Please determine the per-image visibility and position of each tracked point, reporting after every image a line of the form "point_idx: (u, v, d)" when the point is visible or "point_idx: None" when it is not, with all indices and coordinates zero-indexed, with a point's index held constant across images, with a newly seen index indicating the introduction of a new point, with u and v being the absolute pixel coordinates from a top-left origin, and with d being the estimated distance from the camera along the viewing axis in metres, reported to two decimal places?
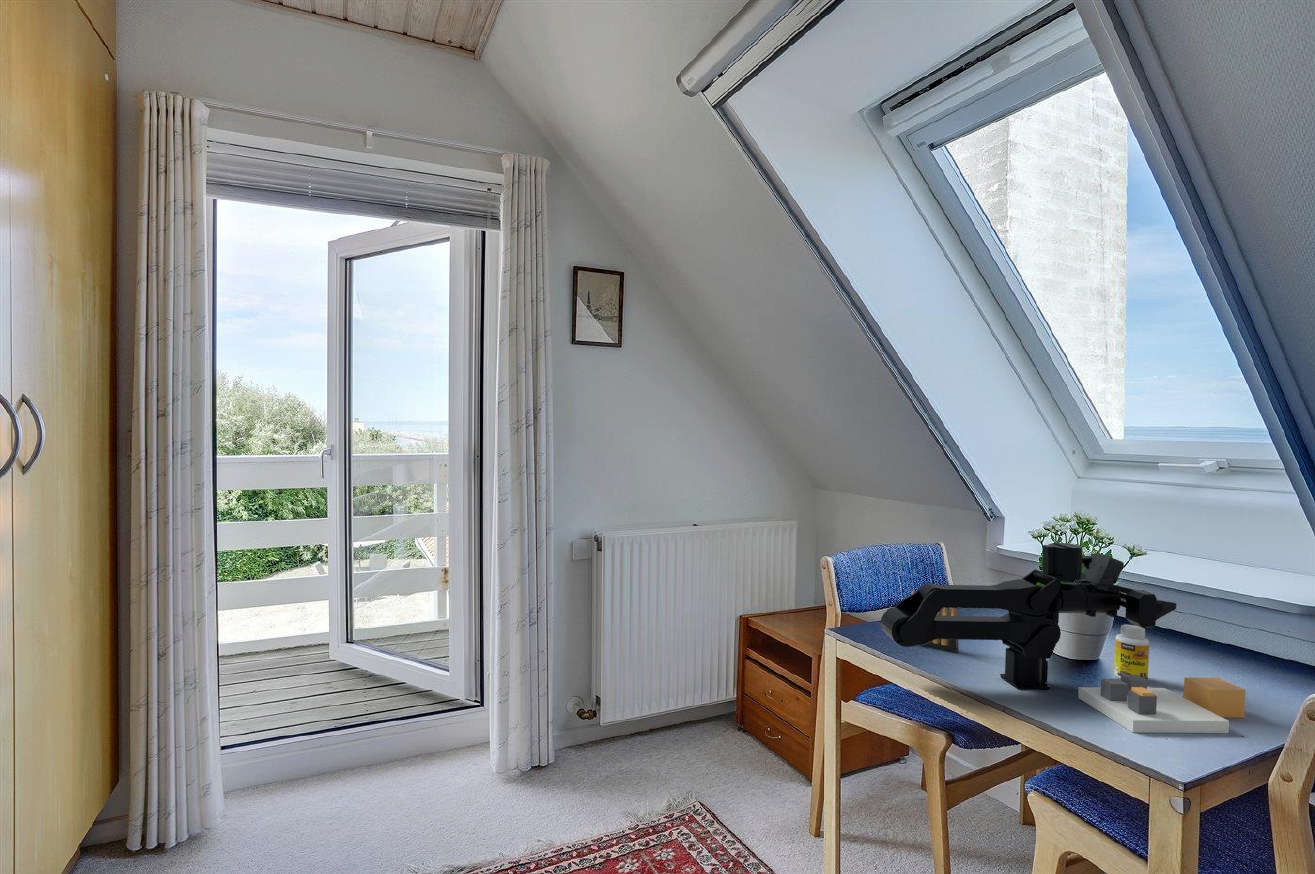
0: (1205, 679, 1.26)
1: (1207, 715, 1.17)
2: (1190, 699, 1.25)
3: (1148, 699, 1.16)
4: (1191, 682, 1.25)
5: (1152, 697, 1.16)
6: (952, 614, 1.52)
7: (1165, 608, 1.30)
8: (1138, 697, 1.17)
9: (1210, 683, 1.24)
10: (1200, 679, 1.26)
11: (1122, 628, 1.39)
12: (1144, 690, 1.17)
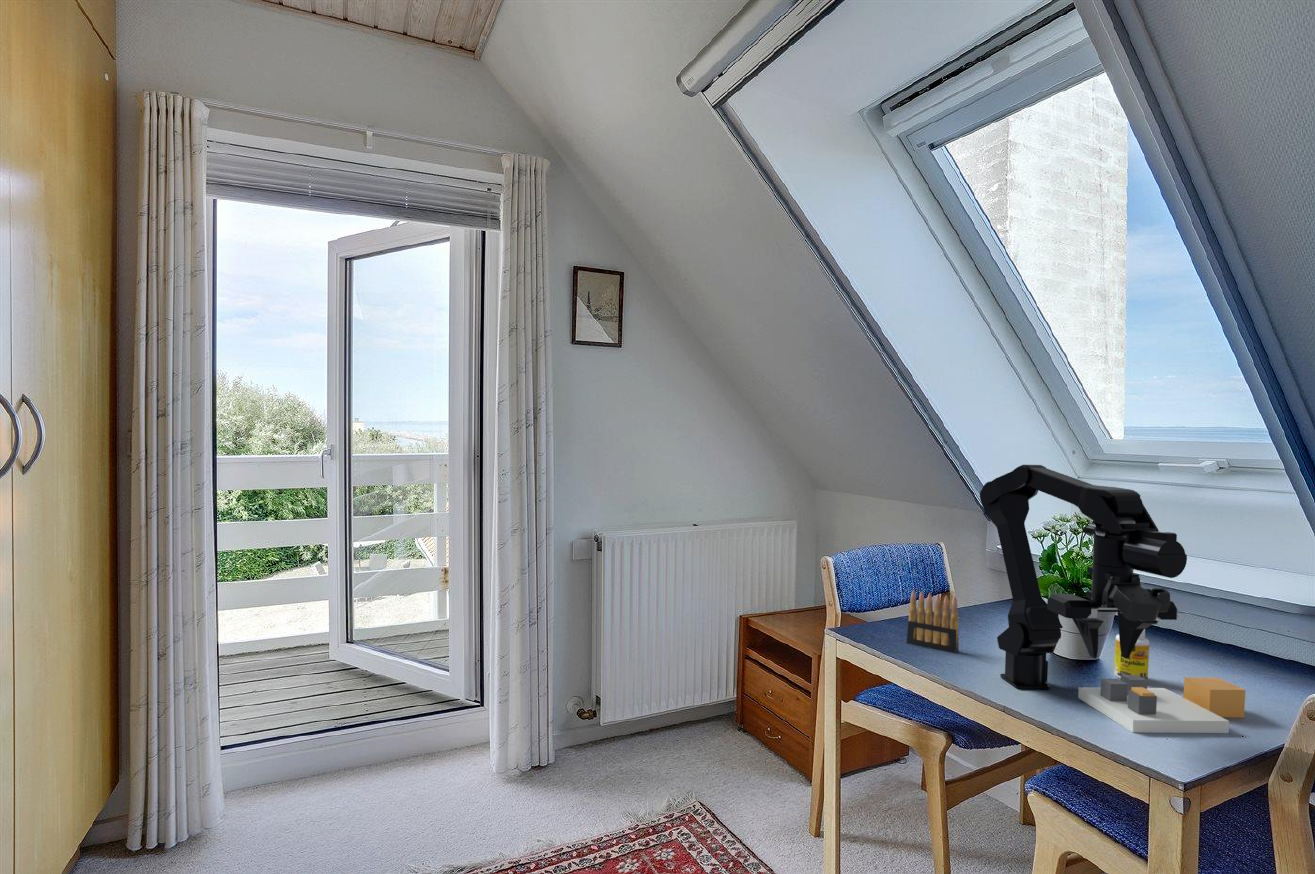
0: (1205, 679, 1.26)
1: (1207, 715, 1.17)
2: (1190, 699, 1.25)
3: (1148, 699, 1.16)
4: (1191, 682, 1.25)
5: (1152, 697, 1.16)
6: (952, 614, 1.52)
7: (1087, 641, 1.17)
8: (1138, 697, 1.17)
9: (1210, 683, 1.24)
10: (1200, 679, 1.26)
11: None
12: (1144, 690, 1.17)
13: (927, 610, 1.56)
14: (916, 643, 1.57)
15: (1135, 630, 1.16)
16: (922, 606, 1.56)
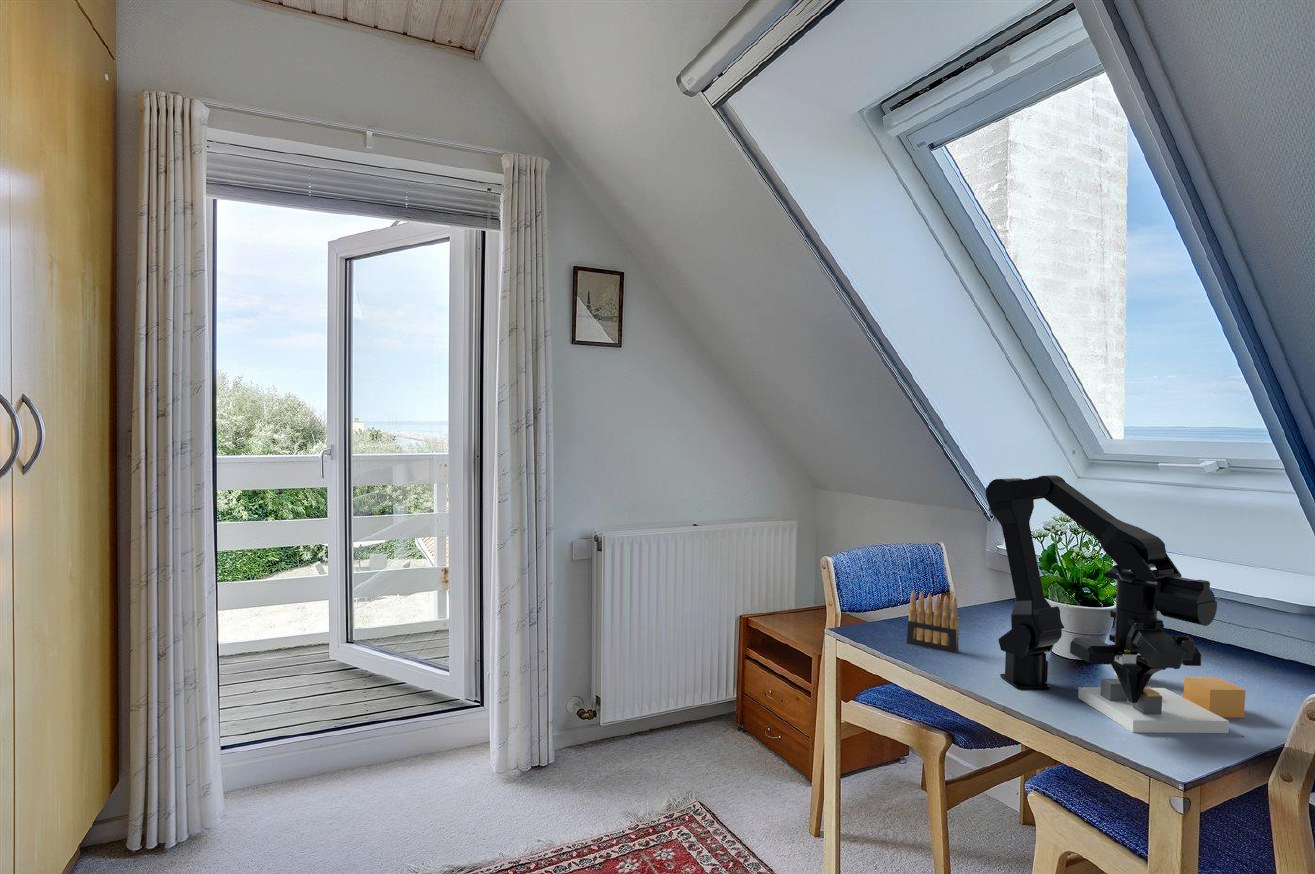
0: (1205, 679, 1.26)
1: (1207, 715, 1.17)
2: (1190, 699, 1.25)
3: (1153, 699, 1.16)
4: (1191, 682, 1.25)
5: (1158, 697, 1.16)
6: (952, 614, 1.52)
7: (1125, 685, 1.18)
8: (1143, 697, 1.17)
9: (1210, 683, 1.24)
10: (1200, 679, 1.26)
11: None
12: (1149, 690, 1.18)
13: (927, 610, 1.56)
14: (916, 643, 1.57)
15: (1144, 675, 1.16)
16: (922, 606, 1.56)
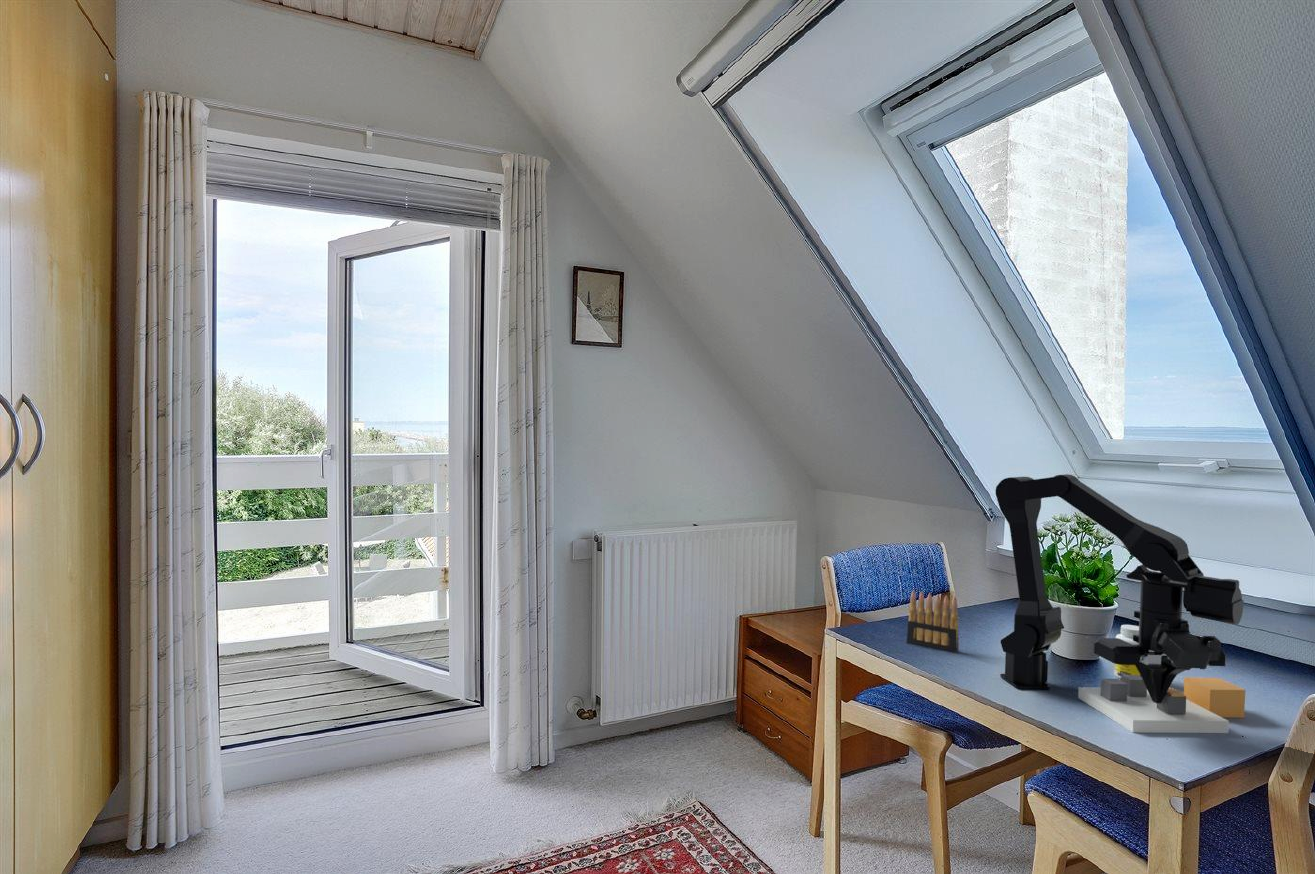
0: (1205, 679, 1.26)
1: (1207, 715, 1.17)
2: (1190, 699, 1.25)
3: (1178, 699, 1.17)
4: (1191, 682, 1.25)
5: (1182, 697, 1.17)
6: (952, 614, 1.52)
7: (1149, 686, 1.18)
8: (1167, 697, 1.17)
9: (1210, 683, 1.24)
10: (1200, 679, 1.26)
11: (1122, 628, 1.39)
12: (1173, 690, 1.18)
13: (927, 610, 1.56)
14: (916, 643, 1.57)
15: (1168, 675, 1.16)
16: (922, 606, 1.56)
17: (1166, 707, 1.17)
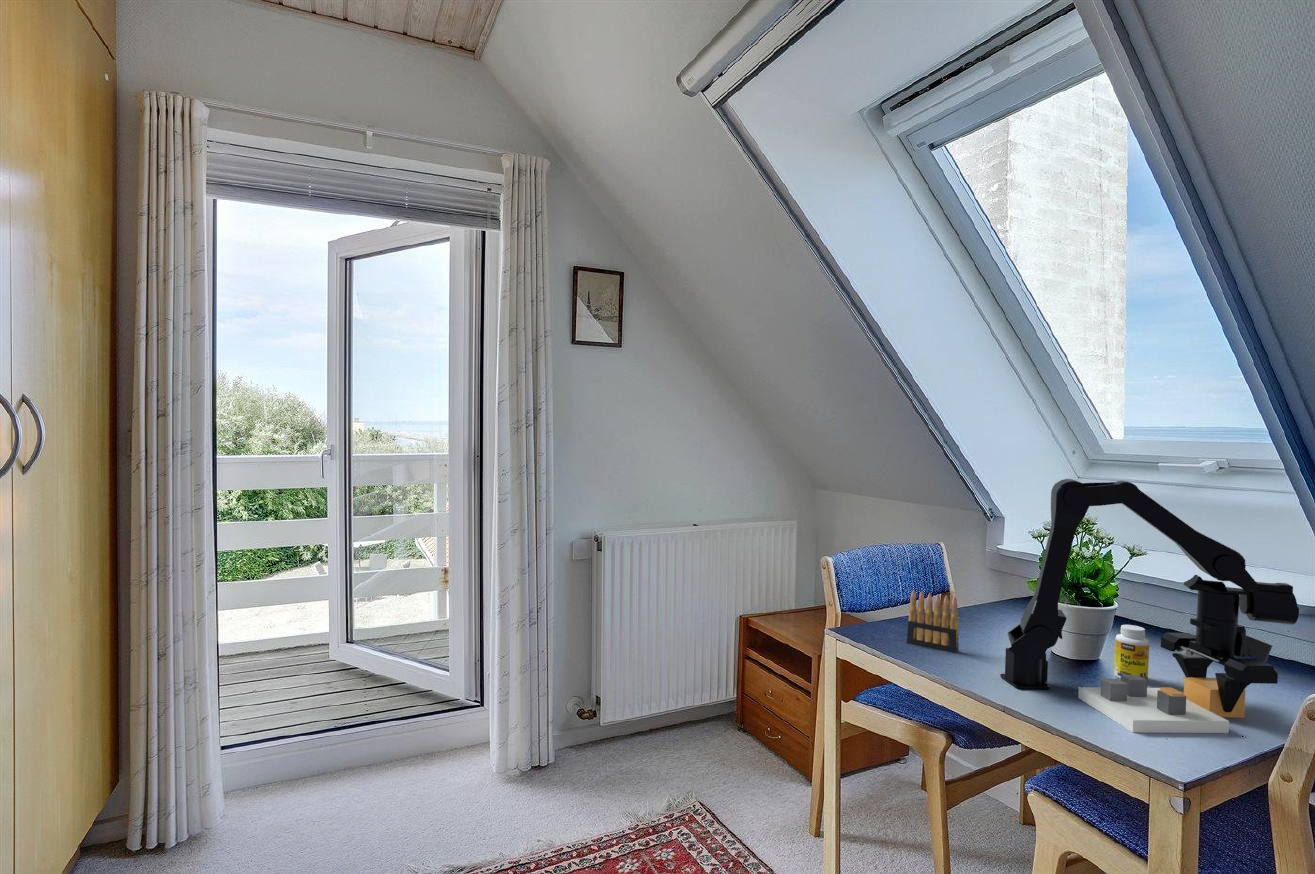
0: (1205, 679, 1.26)
1: (1207, 715, 1.17)
2: (1190, 699, 1.25)
3: (1178, 699, 1.17)
4: (1191, 682, 1.25)
5: (1182, 697, 1.17)
6: (952, 614, 1.52)
7: (1231, 698, 1.20)
8: (1167, 697, 1.17)
9: (1210, 683, 1.24)
10: (1200, 679, 1.26)
11: (1122, 628, 1.39)
12: (1173, 690, 1.18)
13: (927, 610, 1.56)
14: (916, 643, 1.57)
15: (1206, 668, 1.27)
16: (922, 606, 1.56)
17: (1166, 707, 1.17)
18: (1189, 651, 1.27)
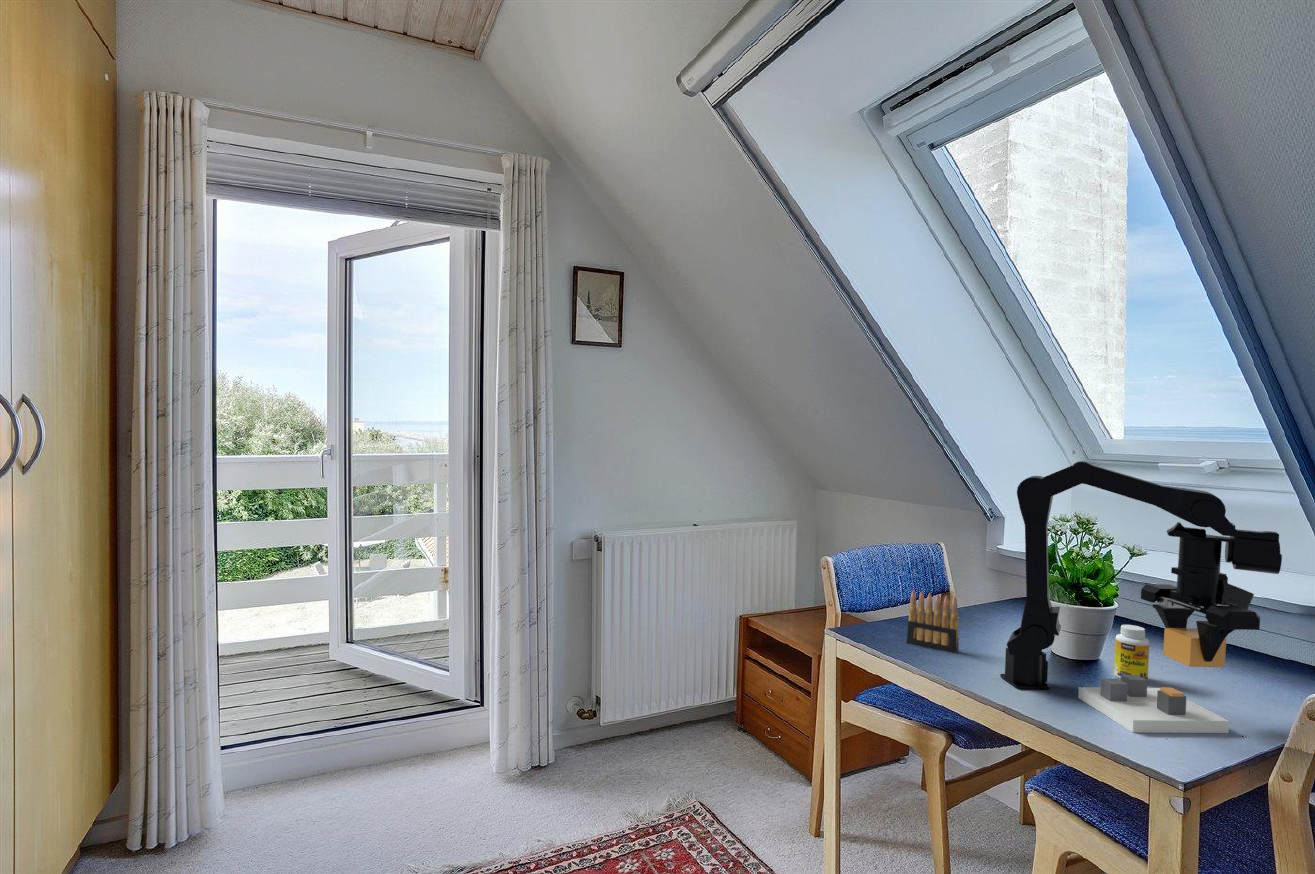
0: (1185, 629, 1.23)
1: (1207, 715, 1.17)
2: (1170, 650, 1.22)
3: (1178, 699, 1.17)
4: (1171, 632, 1.22)
5: (1182, 697, 1.17)
6: (952, 614, 1.52)
7: (1212, 647, 1.17)
8: (1167, 697, 1.17)
9: (1191, 633, 1.21)
10: (1180, 629, 1.23)
11: (1122, 628, 1.39)
12: (1173, 690, 1.18)
13: (927, 610, 1.56)
14: (916, 643, 1.57)
15: (1186, 619, 1.24)
16: (922, 606, 1.56)
17: (1166, 707, 1.17)
18: (1170, 601, 1.24)
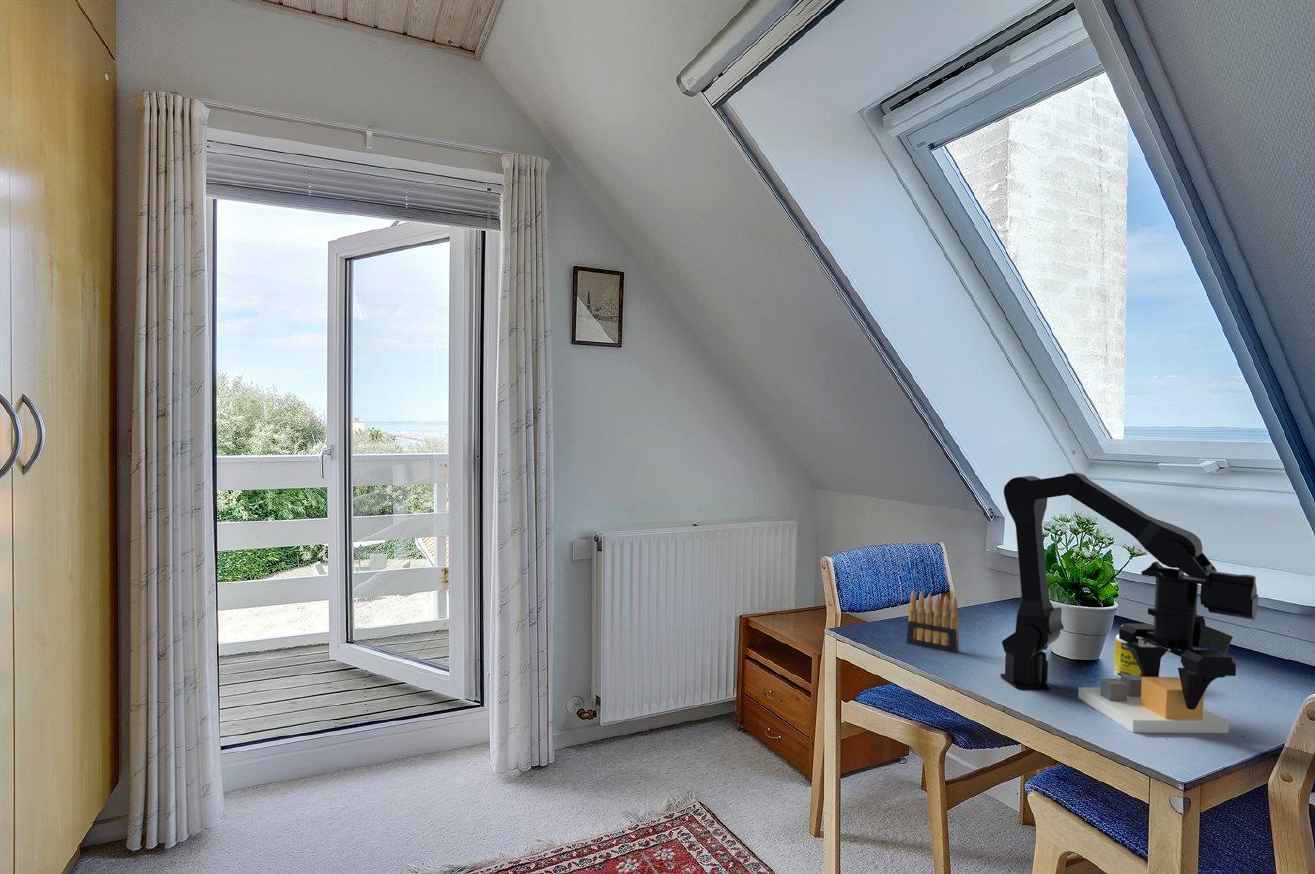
0: (1163, 679, 1.20)
1: (1207, 715, 1.17)
2: (1147, 700, 1.19)
3: None
4: (1148, 682, 1.19)
5: None
6: (952, 614, 1.52)
7: (1195, 695, 1.13)
8: None
9: (1168, 683, 1.18)
10: (1158, 679, 1.20)
11: None
12: None
13: (927, 610, 1.56)
14: (916, 643, 1.57)
15: (1159, 658, 1.23)
16: (922, 606, 1.56)
17: None
18: (1142, 640, 1.23)
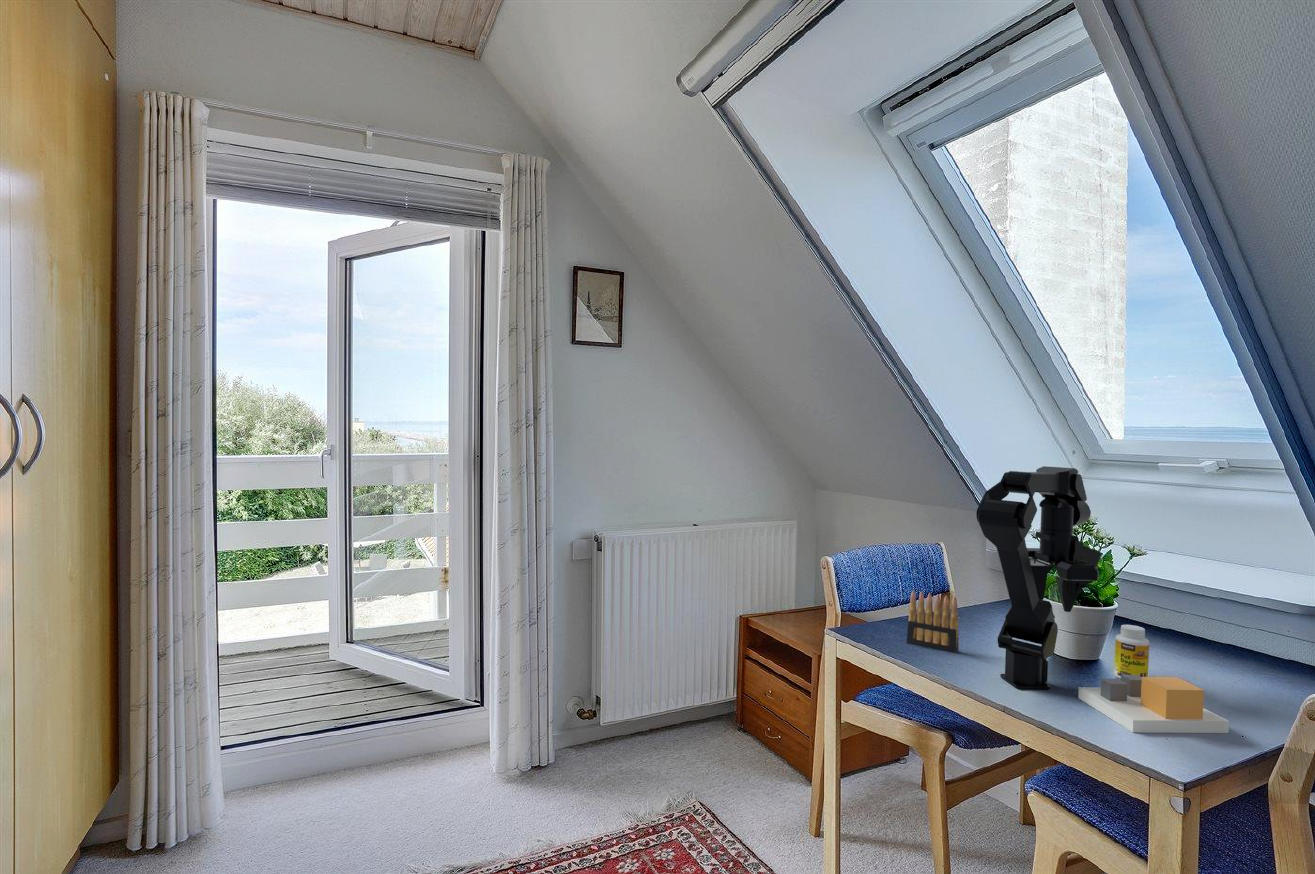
0: (1163, 679, 1.20)
1: (1207, 715, 1.17)
2: (1147, 700, 1.19)
3: None
4: (1148, 682, 1.19)
5: None
6: (952, 614, 1.52)
7: (1069, 599, 1.37)
8: None
9: (1168, 683, 1.18)
10: (1158, 679, 1.20)
11: (1122, 628, 1.39)
12: None
13: (927, 610, 1.56)
14: (916, 643, 1.57)
15: (1046, 574, 1.48)
16: (922, 606, 1.56)
17: None
18: (1032, 560, 1.48)
